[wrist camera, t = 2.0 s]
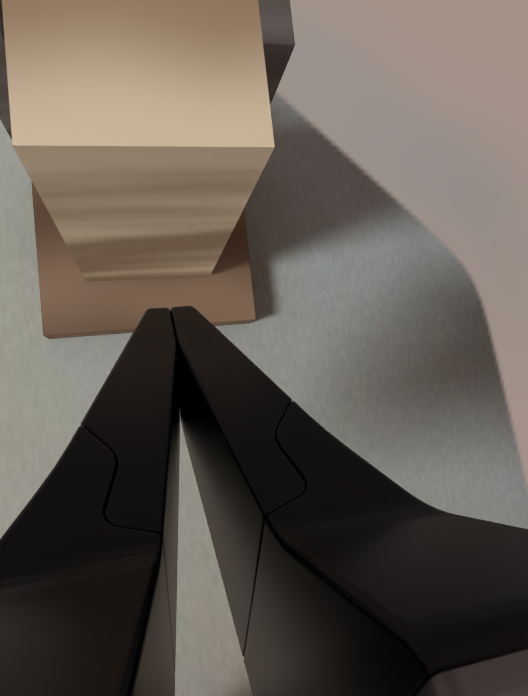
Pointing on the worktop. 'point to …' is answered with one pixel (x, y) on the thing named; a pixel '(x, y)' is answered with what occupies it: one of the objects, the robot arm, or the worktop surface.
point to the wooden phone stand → (143, 293)
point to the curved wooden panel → (140, 125)
